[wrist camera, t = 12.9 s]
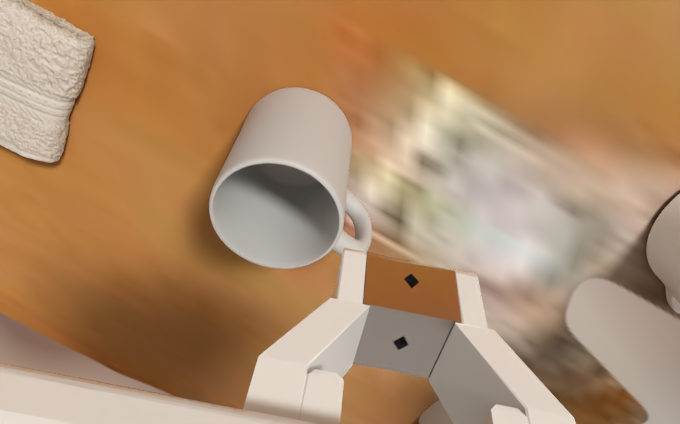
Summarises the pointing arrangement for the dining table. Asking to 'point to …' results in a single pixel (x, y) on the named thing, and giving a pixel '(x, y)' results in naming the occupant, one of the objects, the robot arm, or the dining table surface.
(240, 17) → the dining table surface
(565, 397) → the dining table surface
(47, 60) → the washcloth
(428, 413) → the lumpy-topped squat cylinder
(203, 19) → the dining table surface
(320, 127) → the mug
